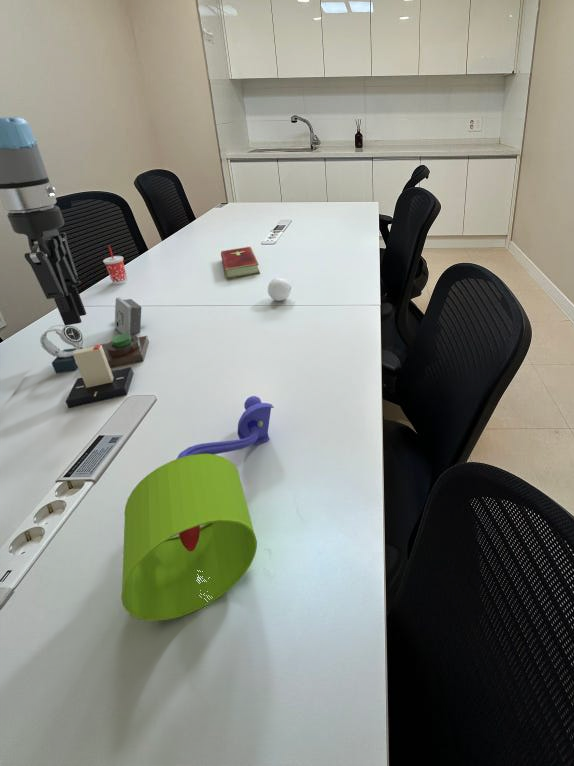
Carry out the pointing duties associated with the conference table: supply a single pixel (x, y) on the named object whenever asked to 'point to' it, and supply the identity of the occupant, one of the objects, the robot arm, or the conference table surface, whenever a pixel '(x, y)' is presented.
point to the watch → (65, 357)
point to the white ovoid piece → (279, 289)
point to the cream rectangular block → (93, 366)
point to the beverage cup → (116, 268)
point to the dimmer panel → (100, 389)
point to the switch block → (126, 352)
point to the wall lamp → (190, 527)
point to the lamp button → (121, 340)
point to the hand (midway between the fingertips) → (75, 319)
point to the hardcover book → (239, 262)
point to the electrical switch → (127, 316)
